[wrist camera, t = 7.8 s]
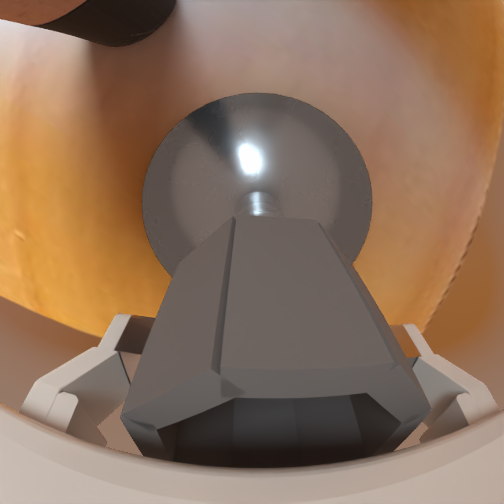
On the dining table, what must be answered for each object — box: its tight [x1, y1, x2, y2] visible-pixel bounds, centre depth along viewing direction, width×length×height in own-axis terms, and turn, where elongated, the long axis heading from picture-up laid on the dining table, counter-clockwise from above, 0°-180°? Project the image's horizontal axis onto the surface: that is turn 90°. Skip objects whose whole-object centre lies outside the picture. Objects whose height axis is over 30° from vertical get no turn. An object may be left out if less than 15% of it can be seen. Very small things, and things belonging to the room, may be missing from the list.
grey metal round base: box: [142, 93, 372, 278], centre depth 15 cm, size 16×16×10 cm
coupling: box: [120, 215, 432, 468], centre depth 8 cm, size 6×6×6 cm
